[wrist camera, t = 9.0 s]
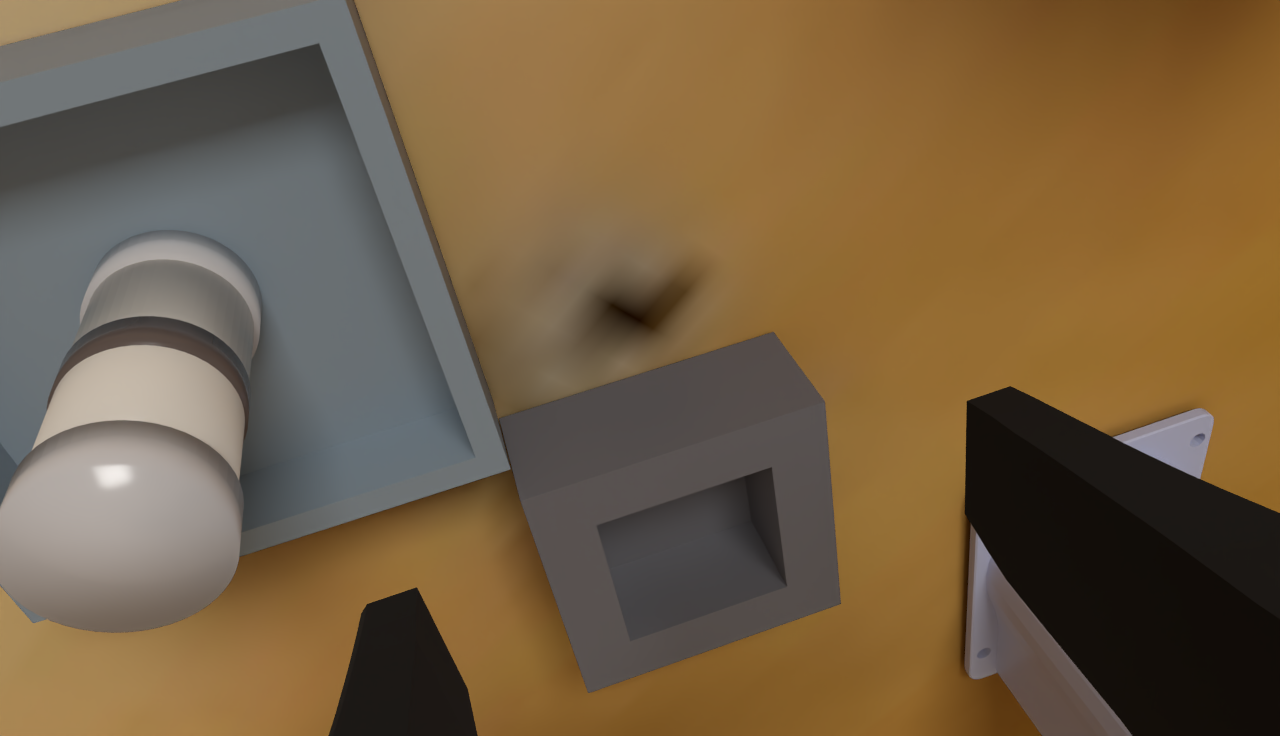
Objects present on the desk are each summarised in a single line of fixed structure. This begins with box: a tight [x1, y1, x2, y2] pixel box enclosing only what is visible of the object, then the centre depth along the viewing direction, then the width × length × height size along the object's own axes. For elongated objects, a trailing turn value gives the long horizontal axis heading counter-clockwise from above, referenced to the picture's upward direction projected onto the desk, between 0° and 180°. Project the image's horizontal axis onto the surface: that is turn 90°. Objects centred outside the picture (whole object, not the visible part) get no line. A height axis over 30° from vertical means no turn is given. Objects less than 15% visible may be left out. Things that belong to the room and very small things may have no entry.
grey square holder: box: [499, 332, 841, 693], centre depth 24 cm, size 7×7×3 cm
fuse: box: [0, 230, 262, 633], centre depth 16 cm, size 3×3×7 cm
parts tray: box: [0, 0, 510, 623], centre depth 18 cm, size 10×10×2 cm
